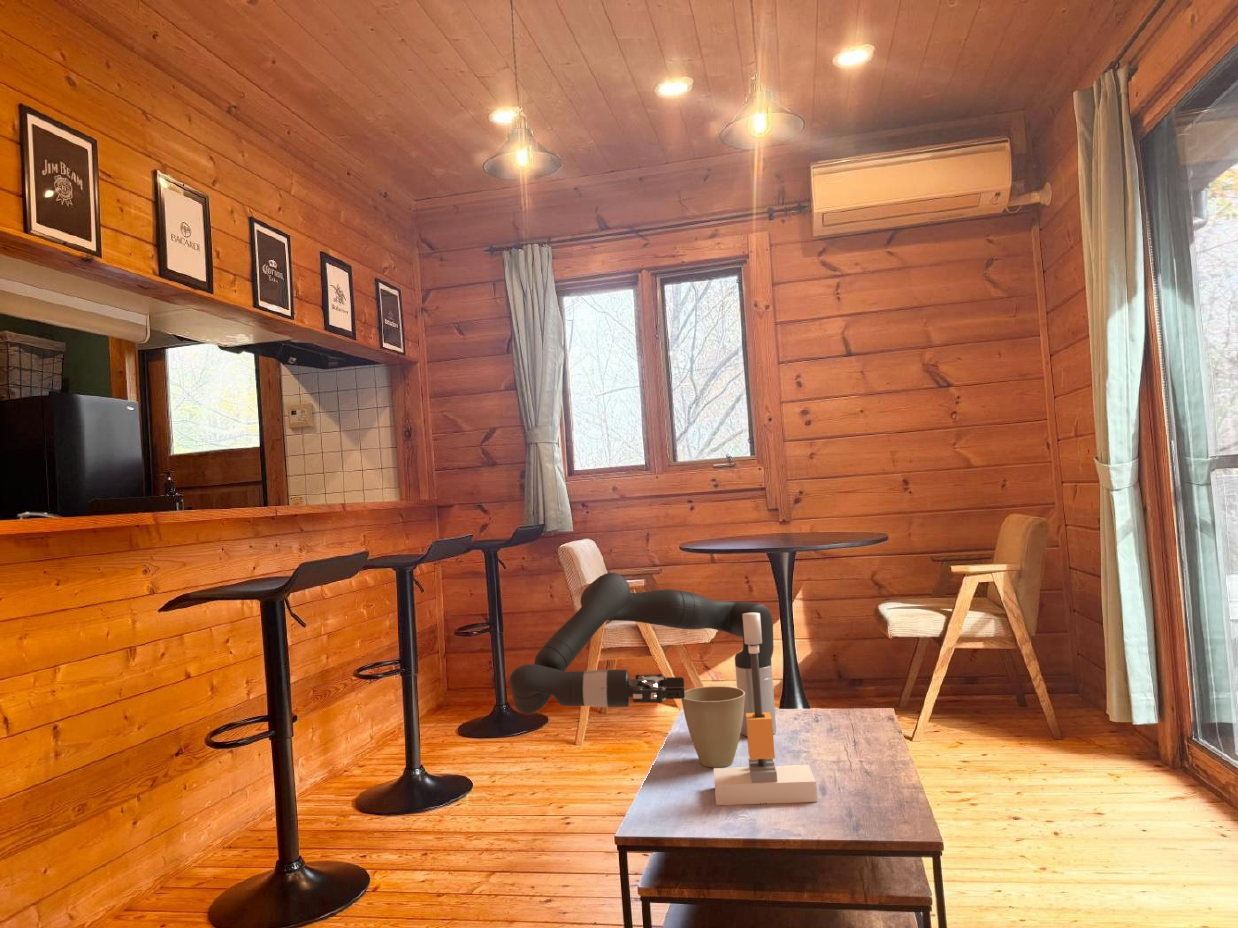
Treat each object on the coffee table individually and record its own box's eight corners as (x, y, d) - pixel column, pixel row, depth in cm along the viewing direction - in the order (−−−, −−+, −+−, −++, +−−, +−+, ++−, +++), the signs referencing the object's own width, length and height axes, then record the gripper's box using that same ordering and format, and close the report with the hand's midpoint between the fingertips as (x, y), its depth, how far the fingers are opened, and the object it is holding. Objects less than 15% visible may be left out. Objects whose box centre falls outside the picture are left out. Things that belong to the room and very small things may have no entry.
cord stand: (714, 787, 178) (702, 612, 179) (810, 783, 176) (797, 607, 177) (716, 805, 168) (703, 620, 169) (817, 801, 166) (803, 614, 167)
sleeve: (748, 751, 175) (745, 713, 175) (772, 750, 175) (769, 712, 175) (750, 759, 170) (747, 719, 170) (774, 758, 170) (772, 718, 170)
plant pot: (748, 773, 185) (743, 700, 186) (681, 773, 188) (676, 701, 188) (751, 751, 200) (746, 684, 200) (689, 752, 203) (684, 685, 203)
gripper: (603, 678, 168) (684, 677, 167) (608, 662, 182) (683, 662, 181) (604, 715, 167) (685, 715, 166) (609, 697, 182) (684, 696, 181)
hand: (684, 687), depth 174 cm, fingers open, 8 cm apart
